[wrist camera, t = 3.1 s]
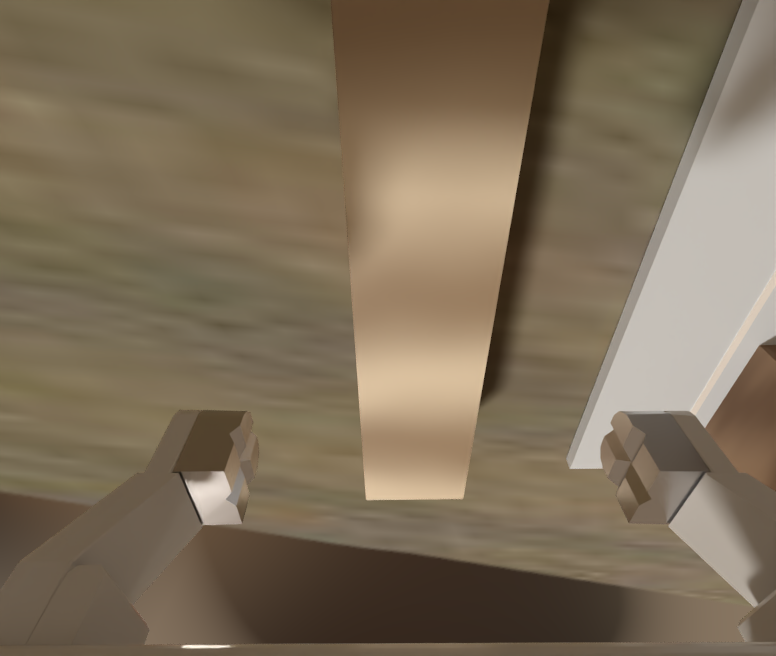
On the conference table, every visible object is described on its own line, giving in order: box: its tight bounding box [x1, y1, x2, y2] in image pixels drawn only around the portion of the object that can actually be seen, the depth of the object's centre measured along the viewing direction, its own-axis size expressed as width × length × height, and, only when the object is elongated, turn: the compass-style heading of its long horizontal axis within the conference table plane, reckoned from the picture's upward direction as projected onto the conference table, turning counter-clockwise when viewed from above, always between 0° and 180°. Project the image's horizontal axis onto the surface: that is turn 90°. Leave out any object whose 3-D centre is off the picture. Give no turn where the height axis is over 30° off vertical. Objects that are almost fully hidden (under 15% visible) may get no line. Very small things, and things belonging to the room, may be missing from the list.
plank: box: [331, 0, 549, 500], centre depth 14 cm, size 20×4×4 cm, turn 1°
